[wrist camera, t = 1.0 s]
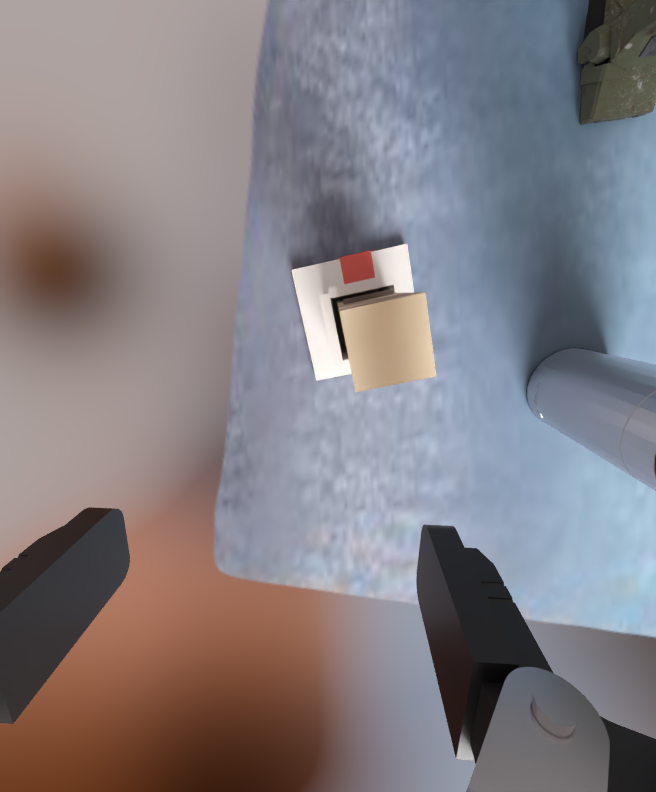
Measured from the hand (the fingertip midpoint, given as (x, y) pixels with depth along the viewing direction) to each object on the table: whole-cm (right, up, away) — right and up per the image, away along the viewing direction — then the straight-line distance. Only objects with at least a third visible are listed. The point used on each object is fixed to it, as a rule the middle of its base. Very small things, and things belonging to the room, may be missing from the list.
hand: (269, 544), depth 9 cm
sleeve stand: (+5, +13, +30) cm, 33 cm away
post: (+5, +12, +28) cm, 31 cm away
